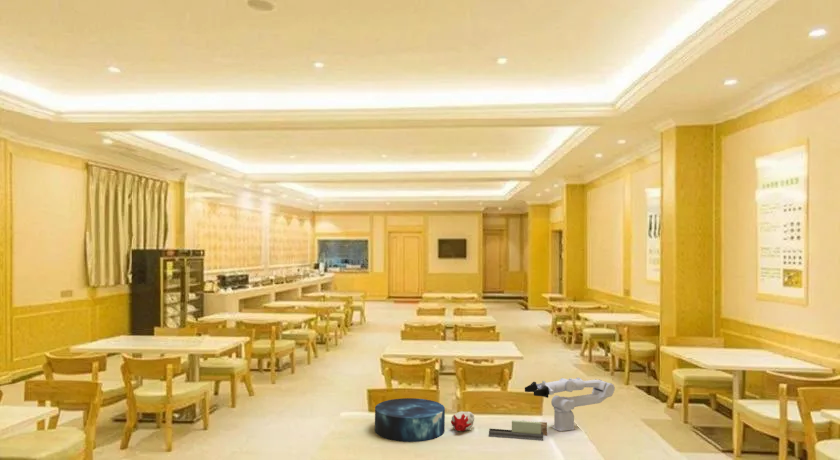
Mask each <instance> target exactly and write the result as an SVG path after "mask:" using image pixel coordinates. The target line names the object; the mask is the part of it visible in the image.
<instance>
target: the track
mask: <svg viewBox="0 0 840 460" xmlns="http://www.w3.org/2000/svg"><path fill="white" fill-rule="evenodd" d="M488 437H491V438H502V439H503V438H504V439H505V438H506V439H516V440H517V439H519V440H531V441H544V435H543V432H541V434H530V433H516V432H512V429H501V428H489V430H488Z"/></svg>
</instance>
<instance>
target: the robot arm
mask: <svg viewBox="0 0 840 460" xmlns="http://www.w3.org/2000/svg"><path fill="white" fill-rule="evenodd" d="M585 388H592V390H591V393H588V394H580V395H576V396H574V395H573V396H560V395H555V394H557V393H562V392H569V393H572V392H573V391H583V390H584V389H585ZM615 390H616V389H615V385H614V384H613V383H612V382H607V381H603V380H602V379H596V378H595V379H590V380H589V379H587V380H583V379H582V378H580V377H576V378H571V377H569V378H568V379H567V378H564V377H562V378H560V379H559V380H553V381H548V382H546V381H545V380H542V382H540V383H537V382H536V381H533V382H531V383H530V384H529V385H527V386H525V387H524V392H525V393H533V396H535V397H543V398H547V399H549V395H550V396H552V399H551V406H552V407H553V410H554V411H553V414H554V417H553V418H554V419H553V420H554V421H553V424H554V425H550V427H551V428H552V429H554V430H556V431H559V432H563V431H564V432H565V431H572V430H573V431H574V430H576V429H575V415H574V412H573V410H574V409H575V408H578V407H584V406H589V405H595V404H601V403H602V402H604V401H605V400H606V399H607V398H611V397H612V396H613V395H614V393H615ZM553 395H554V396H553Z"/></svg>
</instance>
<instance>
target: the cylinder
mask: <svg viewBox="0 0 840 460" xmlns="http://www.w3.org/2000/svg"><path fill="white" fill-rule="evenodd" d="M445 411H446V408H445V406H444V405H443V404H442V403H440V402H437V401H435V400H431V399H427V398H414V397H413V398H410V397H407V398H406V397H405V398H394V399H388V400H383V401H382V402H380V403H378V404H376V405H375V407H374V432H375V434H376V435H377V436H378V437H380V438H382V439H385V440H388V441H392V442H393V441H394V442H400V443H401V442H403V443H419V442H428V441H432V440H435V439H437V438H440V437H442V436H443V435H444V433H445V429H446V428H445V424H446V423H445V422H446V419H445V418H446V416H445V415H446V414H445V413H446V412H445Z"/></svg>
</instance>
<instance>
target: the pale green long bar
mask: <svg viewBox="0 0 840 460" xmlns="http://www.w3.org/2000/svg"><path fill="white" fill-rule="evenodd" d="M541 422H542V421H529V420H528V421H527V420H516V419H515V420H514V419H513V420H512V419H511V430H512V432H516V433H530V434H541Z"/></svg>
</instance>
